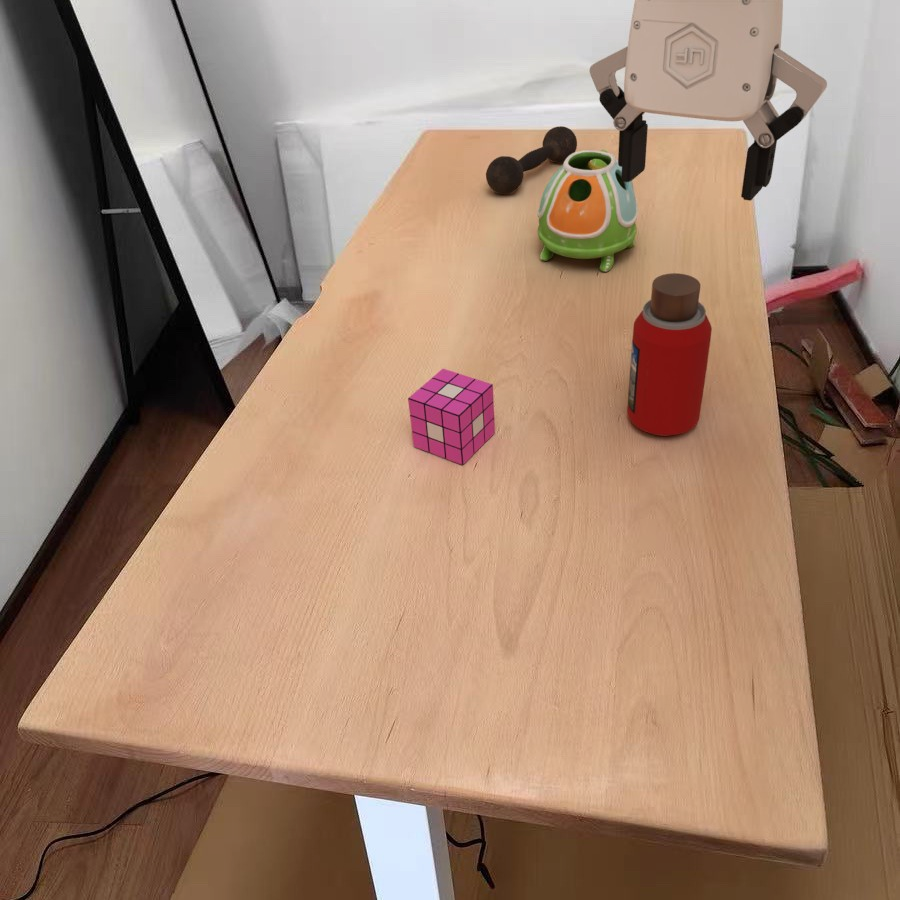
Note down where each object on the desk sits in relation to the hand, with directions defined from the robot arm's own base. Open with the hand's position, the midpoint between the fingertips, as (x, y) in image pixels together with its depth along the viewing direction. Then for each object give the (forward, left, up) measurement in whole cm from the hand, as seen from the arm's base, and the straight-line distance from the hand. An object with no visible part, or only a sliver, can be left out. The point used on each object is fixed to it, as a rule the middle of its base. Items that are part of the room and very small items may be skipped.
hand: (690, 184), depth 68 cm
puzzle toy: (+16, +12, -24) cm, 31 cm away
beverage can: (0, 0, -24) cm, 24 cm away
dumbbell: (+41, -49, -24) cm, 69 cm away
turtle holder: (+23, -31, -24) cm, 46 cm away
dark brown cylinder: (0, 0, -11) cm, 11 cm away
